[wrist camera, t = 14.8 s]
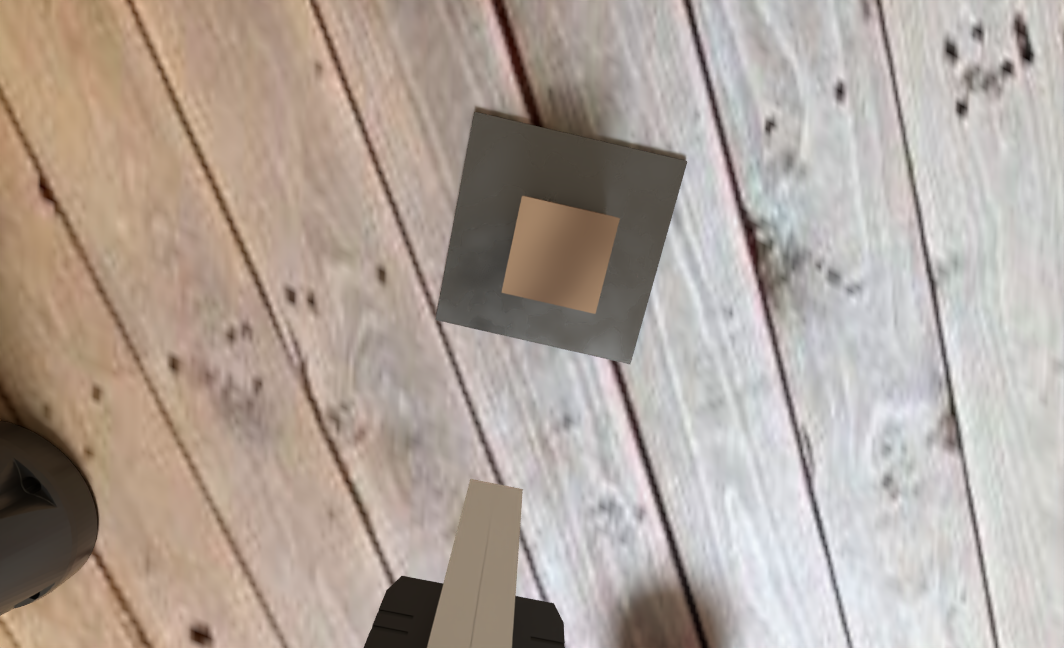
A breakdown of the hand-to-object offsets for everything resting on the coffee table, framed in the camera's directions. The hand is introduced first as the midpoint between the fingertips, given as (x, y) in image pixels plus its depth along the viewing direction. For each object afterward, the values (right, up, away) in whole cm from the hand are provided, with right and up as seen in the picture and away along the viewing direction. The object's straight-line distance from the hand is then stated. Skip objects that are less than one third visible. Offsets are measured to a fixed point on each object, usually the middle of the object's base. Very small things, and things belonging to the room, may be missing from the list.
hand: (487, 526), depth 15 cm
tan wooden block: (+3, +11, +21) cm, 24 cm away
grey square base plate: (+3, +11, +21) cm, 24 cm away
